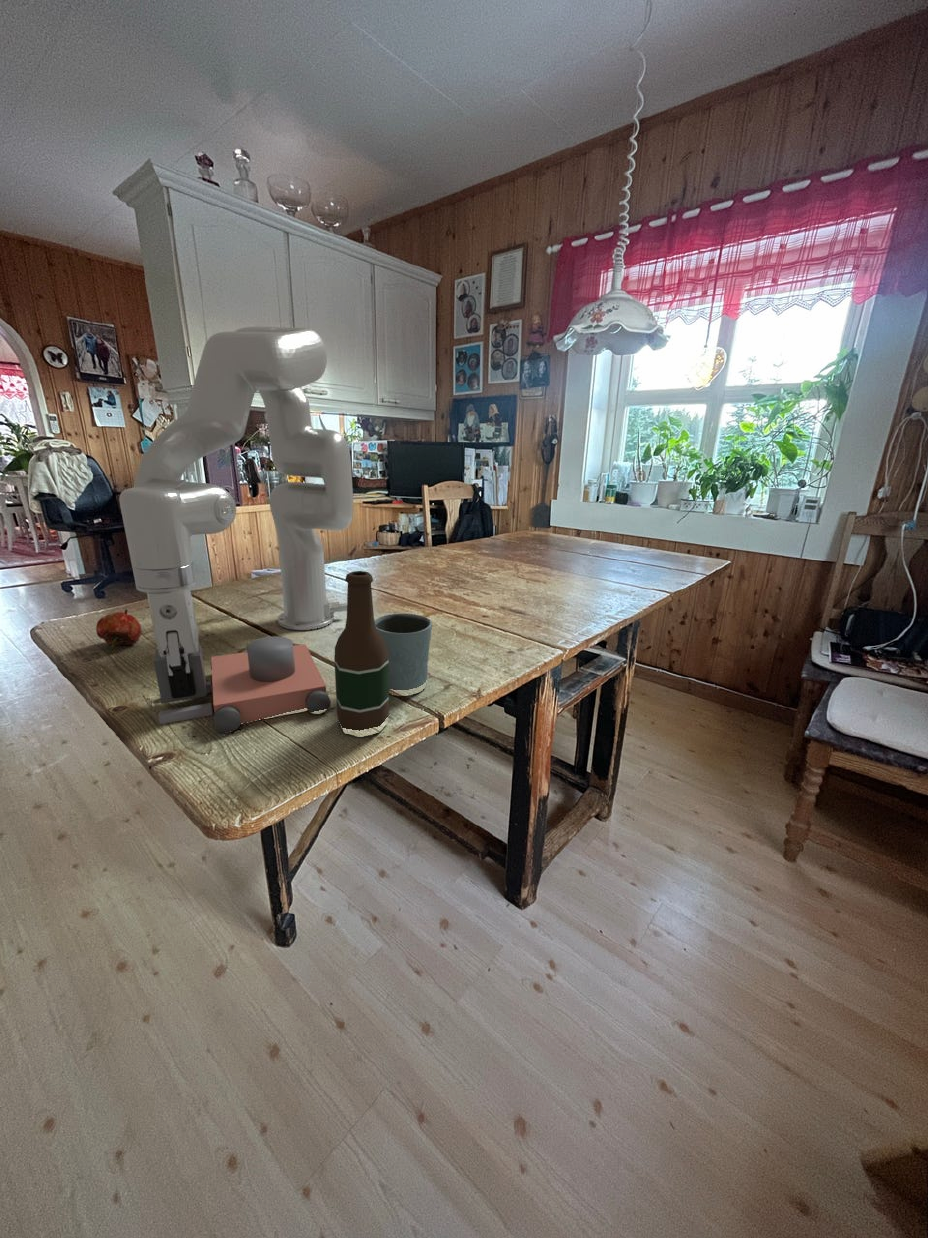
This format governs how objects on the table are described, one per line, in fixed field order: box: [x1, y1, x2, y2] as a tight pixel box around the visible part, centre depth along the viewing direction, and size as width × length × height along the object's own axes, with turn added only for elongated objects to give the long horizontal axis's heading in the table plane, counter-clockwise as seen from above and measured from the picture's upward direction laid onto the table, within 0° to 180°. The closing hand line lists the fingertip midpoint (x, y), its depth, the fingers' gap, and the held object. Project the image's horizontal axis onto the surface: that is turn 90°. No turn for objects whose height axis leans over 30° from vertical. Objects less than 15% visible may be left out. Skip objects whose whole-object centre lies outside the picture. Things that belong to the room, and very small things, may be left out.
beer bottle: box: [333, 570, 390, 731], centre depth 70 cm, size 8×8×24 cm
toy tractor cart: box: [157, 635, 332, 734], centre depth 79 cm, size 24×21×9 cm
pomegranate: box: [95, 609, 143, 655], centre depth 96 cm, size 7×7×10 cm
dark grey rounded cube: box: [153, 642, 208, 704], centre depth 75 cm, size 6×5×7 cm
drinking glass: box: [374, 613, 433, 690], centre depth 85 cm, size 10×10×12 cm
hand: (184, 686), depth 76 cm, fingers closed on dark grey rounded cube, 5 cm apart
